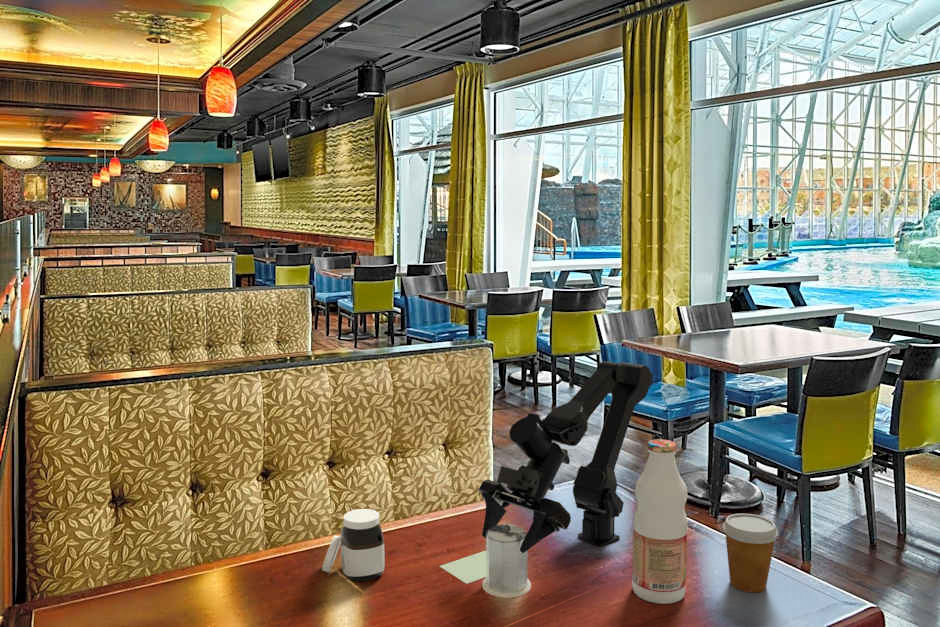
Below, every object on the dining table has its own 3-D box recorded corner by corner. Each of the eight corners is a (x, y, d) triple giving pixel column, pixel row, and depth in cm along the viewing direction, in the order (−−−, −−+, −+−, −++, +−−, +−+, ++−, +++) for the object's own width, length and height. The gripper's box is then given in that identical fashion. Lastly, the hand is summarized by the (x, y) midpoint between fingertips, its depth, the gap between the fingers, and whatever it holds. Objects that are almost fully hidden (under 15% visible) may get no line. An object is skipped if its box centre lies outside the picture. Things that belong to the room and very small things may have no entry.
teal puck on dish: (509, 571, 146) (509, 555, 145) (541, 589, 138) (541, 572, 138) (472, 584, 140) (472, 568, 140) (503, 604, 133) (503, 587, 133)
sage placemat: (499, 547, 156) (499, 545, 156) (527, 562, 149) (527, 561, 149) (439, 567, 147) (439, 566, 147) (466, 585, 140) (466, 583, 140)
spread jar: (389, 581, 142) (388, 521, 141) (330, 592, 138) (328, 531, 136) (372, 555, 153) (371, 500, 152) (317, 565, 149) (315, 508, 147)
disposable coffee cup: (774, 576, 142) (776, 515, 141) (776, 600, 134) (779, 536, 132) (721, 569, 146) (723, 509, 144) (720, 592, 137) (722, 529, 135)
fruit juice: (621, 589, 138) (623, 441, 134) (655, 575, 143) (658, 432, 140) (661, 611, 130) (665, 454, 127) (696, 594, 136) (701, 444, 132)
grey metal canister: (501, 571, 144) (501, 514, 143) (533, 581, 140) (533, 523, 139) (479, 585, 139) (479, 526, 137) (512, 596, 134) (512, 536, 133)
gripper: (484, 438, 146) (443, 509, 139) (561, 459, 133) (520, 539, 126) (511, 468, 152) (473, 537, 146) (587, 491, 139) (549, 567, 133)
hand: (502, 544), depth 137 cm, fingers open, 9 cm apart
